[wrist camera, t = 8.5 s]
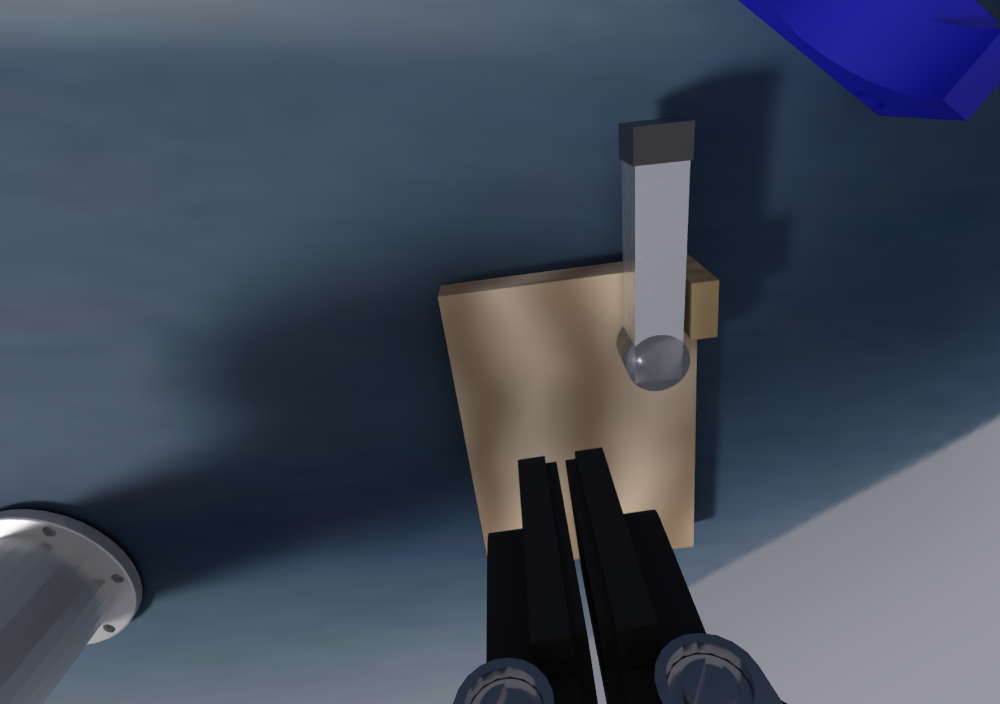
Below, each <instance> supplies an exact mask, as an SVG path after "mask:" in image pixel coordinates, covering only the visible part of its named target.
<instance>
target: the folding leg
mask: <svg viewBox="0 0 1000 704" xmlns="http://www.w3.org/2000/svg"><path fill="white" fill-rule="evenodd" d="M694 137H695V120H690V119H683V118H676V117H673V118H664V119H655V120H646V121H637V122H628V123H619V159H620V160H622V236H623V327H622V328H621V330H620V332H619V334H618V337H617V342H616V346H617V351H618V353H619V356H620V358H621V360H622V362H623V364H624V366H625V368H626V370H627V372H628V374H629V377H630V378H631V380H632V381H633V382H634V383H635V384H636V385H637V386H638V387H640V388H642V389H645V390H648V391H662V390H666V389H668V388H671V387H673V386H674V385H676V384H677V383H679V382H680V381H681V380H682V379H683V378H684V376H685V375H686V373H687V371H688V369H689V366H690V353H689V350H688V348H687V347H686V345H685V344H684V343H683V334H684V309H685V284H686V259H687V234H688V209H689V184H690V160H694Z"/></svg>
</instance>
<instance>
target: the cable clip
mask: <svg viewBox="0 0 1000 704" xmlns="http://www.w3.org/2000/svg"><path fill="white" fill-rule="evenodd" d="M738 1H740V2H741V3H742V4H743V5H745V6H746V7H747V8H748V9H749V10H751V11H752V12H753V13H754V14H756V15H757V16H758V17H759V18H760V19H762V20H763V21H764V22H765V23H767V24H768V25H769V26H770V27H771V28H773V29H774V30H775V31H776V32H778V33H779V34H780V35H781V36H782V37H784V38H785V39H786V40H787V41H789V42H790V43H791V44H792V45H793V46H795V47H796V48H797V49H798V50H800V51H801V52H802V53H803V54H804V55H806V56H807V57H808V58H809V59H811V60H812V61H813V62H814V63H815V64H817V65H818V66H819V67H820V68H822V69H823V70H824V71H825V72H826V73H828V74H829V75H830V76H831V77H833V78H834V79H835V80H836V81H837V82H839V83H840V84H841V85H842V86H844V87H845V88H846V89H847V90H848V91H850V92H851V93H852V94H853V95H855V96H856V97H857V98H858V99H859V100H861V101H862V102H863V103H864V104H866V105H867V106H868V107H869V108H870V109H872V110H873V111H874V112H875V113H877V114H878V115H880V116H897V117H914V118H930V119H947V120H964V121H967V120H968V119H969V118H970V117H971V115H972V114H973V113H974V112H975V111H976V110H977V109H978V108H979V106H980V105H981V104H982V103H983V102H984V101H985V100H986V99H987V97H988V96H989V95H990V94H991V93H992V92H993V91H994V90H995V88H996V87H997V86H998V85H999V84H1000V28H998V29H993V28H994V27H995V26H996V25H997V24H998V23H999V22H998V21H997V20H996V19H995V18H994V17H993V16H992V15H991V14H989V13H988V12H987V11H986V10H985V9H984V8H983V7H982V6H981V5H980V4H979V3H978V2H977V1H976V0H738Z"/></svg>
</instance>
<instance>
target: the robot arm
mask: <svg viewBox="0 0 1000 704" xmlns="http://www.w3.org/2000/svg"><path fill="white" fill-rule="evenodd" d="M565 463H566V470H567V477H568V484H569V491H570V497H571V504H572V511H573V517H574V524H575V531H576V538H577V544H578V551H579V558H580V564H581V570H582V576H583V581H584V587H585V592H586V597H587V602H588V608H589V613H590V618H591V624H592V629H593V634H594V639H595V644H596V650H597V655H598V660H599V665H600V671H601V676H602V681H603V687H604V692H605V696H606V702H607V704H787V703H785V702H783V701H781V700H780V698H779V697H778V695H777V693H776V692H775V690H774V689H773V687H772V686H771V684H770V683H769V681H768V680H767V678H766V677H765V675H764V673H763V672H762V670H761V669H760V667H759V666H758V665H757V663H756V662H755V661H754V660H753V659H752V658H751V656H750V655H749V654H748V653H747V652H746V651H745V650H743V649H742V648H740V647H739V646H738V645H736V644H734V643H733V642H732V641H729V640H726V639H724V638H722V637H719V636H717V635H710V634H706V632H705V630H704V627H703V625H702V622H701V620H700V617H699V615H698V612H697V610H696V607H695V605H694V602H693V600H692V597H691V595H690V592H689V589H688V587H687V584H686V582H685V579H684V577H683V574H682V572H681V569H680V567H679V564H678V562H677V559H676V557H675V554H674V552H673V549H672V547H671V544H670V542H669V539H668V537H667V534H666V532H665V529H664V527H663V524H662V522H661V519H660V517H659V515H658V513H657V511H656V510H655V509H654V510H647V511H640V512H633V513H626V514H623V511H622V508H621V505H620V502H619V498H618V495H617V492H616V489H615V486H614V483H613V479H612V476H611V473H610V470H609V467H608V464H607V460H606V457H605V454H604V451H603V448H602V447H599V448H593V449H586V450H579V451H575V459H570V460H565ZM518 473H519V487H520V501H521V515H522V528H521V529H514V530H507V531H500V532H493V533H489V534H488V542H487V663H485V664H483V665H481V666H479V667H478V668H477V669H476V670H474V671H473V672H472V673H471V674H470V675H468V676H467V678H466V679H465V681H464V682H463V683H462V685H461V686H460V688H459V689H458V692H457V695H456V697H455V700H454V703H453V704H598V702H597V696H596V689H595V682H594V676H593V669H592V662H591V656H590V650H589V643H588V637H587V631H586V625H585V619H584V613H583V607H582V602H581V596H580V591H579V585H578V579H577V574H576V568H575V563H574V557H573V551H572V546H571V540H570V535H569V529H568V523H567V518H566V512H565V507H564V501H563V495H562V490H561V484H560V479H559V473H558V467H557V462H550V463H546V461H545V456H540V457H533V458H526V459H520V460H518ZM141 601H142V584H141V580H140V576H139V574H138V572H137V570H136V568H135V566H134V564H133V562H132V561H131V560H130V559H129V557H128V556H127V555H126V553H125V552H124V551H123V550H122V549H121V548H120V547H119V546H118V545H117V544H116V543H115V542H113V541H112V540H111V539H110V538H108V537H107V536H105V535H104V534H102V533H101V532H100V531H98V530H96V529H94V528H92V527H91V526H89V525H87V524H85V523H83V522H81V521H78V520H75V519H73V518H70V517H67V516H65V515H61V514H56V513H52V512H48V511H41V510H32V509H14V510H6V511H1V512H0V704H43V703H44V702H45V700H46V699H47V698H48V696H49V695H50V693H51V692H52V691H53V689H54V688H55V687H56V685H57V684H58V683H59V681H60V680H61V679H62V677H63V676H64V674H65V673H66V672H67V670H68V669H69V668H70V666H71V665H72V664H73V662H74V661H75V660H76V658H77V657H78V655H79V654H80V653H81V651H82V650H83V649H84V647H85V646H86V645H87V644H91V643H97V642H100V641H103V640H106V639H109V638H111V637H113V636H114V635H116V634H118V633H119V632H121V631H122V630H123V629H124V628H125V627H126V626H127V625H128V624H129V623H130V621H131V620H132V618H133V617H134V615H135V614H136V612H137V611H138V609H139V606H140V604H141Z"/></svg>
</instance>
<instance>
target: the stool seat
mask: <svg viewBox="0 0 1000 704" xmlns="http://www.w3.org/2000/svg"><path fill="white" fill-rule="evenodd" d="M438 301H439V306H440V312H441V317H442V322H443V327H444V333H445V338H446V343H447V348H448V353H449V359H450V364H451V369H452V374H453V380H454V385H455V390H456V395H457V400H458V406H459V411H460V416H461V421H462V427H463V432H464V437H465V442H466V447H467V453H468V458H469V463H470V468H471V474H472V479H473V484H474V489H475V494H476V500H477V505H478V510H479V515H480V521H481V526H482V531H483V536H484V541H485V547H486V552H487V542H488V534H489V533H493V532H500V531H507V530H514V529H521V528H522V515H521V501H520V487H519V473H518V460H520V459H526V458H533V457H540V456H545V461H546V463H550V462H557V467H558V473H559V479H560V484H561V490H562V495H563V501H564V507H565V512H566V518H567V523H568V529H569V535H570V540H571V546H572V551H573V557H574V559H580V558H579V551H578V544H577V538H576V531H575V524H574V517H573V511H572V504H571V497H570V491H569V484H568V477H567V470H566V463H565V460H570V459H575V451H579V450H586V449H593V448H599V447H602V448H603V451H604V454H605V457H606V460H607V464H608V467H609V470H610V473H611V476H612V479H613V483H614V486H615V489H616V492H617V495H618V498H619V502H620V505H621V508H622V511H623V514H626V513H633V512H640V511H647V510H654V509H655V510H656V511H657V513H658V515H659V517H660V519H661V522H662V524H663V527H664V529H665V532H666V534H667V537H668V539H669V542H670V544H671V547H672V549H675V548H684V547H693V543H694V487H695V431H696V374H697V339H704V338H712V337H717V332H718V303H719V279H717V278H716V277H715V276H714V275H713V274H711V273H710V272H709V271H708V270H707V269H705V268H704V267H703V266H702V265H701V264H699V263H698V262H697V261H696V260H695V259H693V258H692V257H691V256H690V255H689V254H687V259H686V284H685V309H684V334H683V343H684V344H685V345H686V347H687V348H688V350H689V353H690V366H689V369H688V371H687V373H686V375H685V376H684V378H683V379H682V380H681V381H680V382H679V383H677V384H676V385H674V386H673V387H671V388H668V389H666V390H662V391H648V390H645V389H642V388H640V387H638V386H637V385H636V384H635V383H634V382H633V381H632V380H631V378H630V377H629V374H628V372H627V370H626V368H625V366H624V364H623V362H622V360H621V358H620V356H619V353H618V351H617V346H616V342H617V337H618V334H619V332H620V330H621V328H622V327H623V261H621V262H614V263H606V264H599V265H591V266H584V267H576V268H568V269H561V270H553V271H546V272H538V273H531V274H523V275H515V276H508V277H500V278H493V279H485V280H478V281H470V282H462V283H455V284H447V285H441V287H440V290H439V294H438Z"/></svg>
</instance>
